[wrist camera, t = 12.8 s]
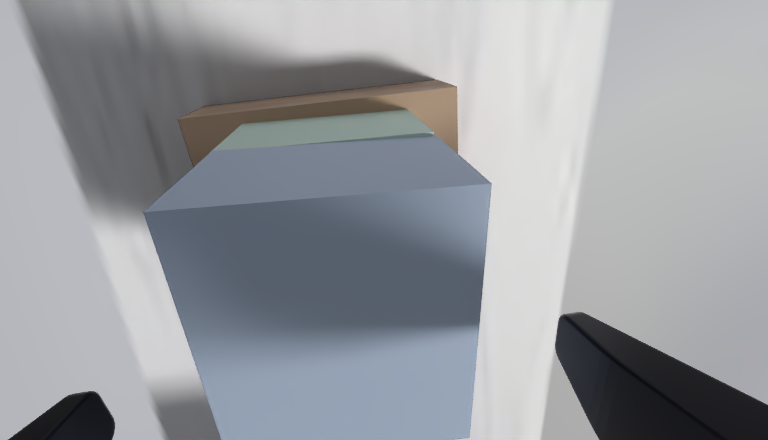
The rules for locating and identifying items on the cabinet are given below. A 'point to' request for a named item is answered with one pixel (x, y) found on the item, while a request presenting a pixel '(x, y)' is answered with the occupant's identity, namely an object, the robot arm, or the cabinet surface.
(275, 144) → the sage block
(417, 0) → the cabinet surface
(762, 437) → the robot arm
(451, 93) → the walnut block
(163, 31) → the cabinet surface
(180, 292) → the slate block
